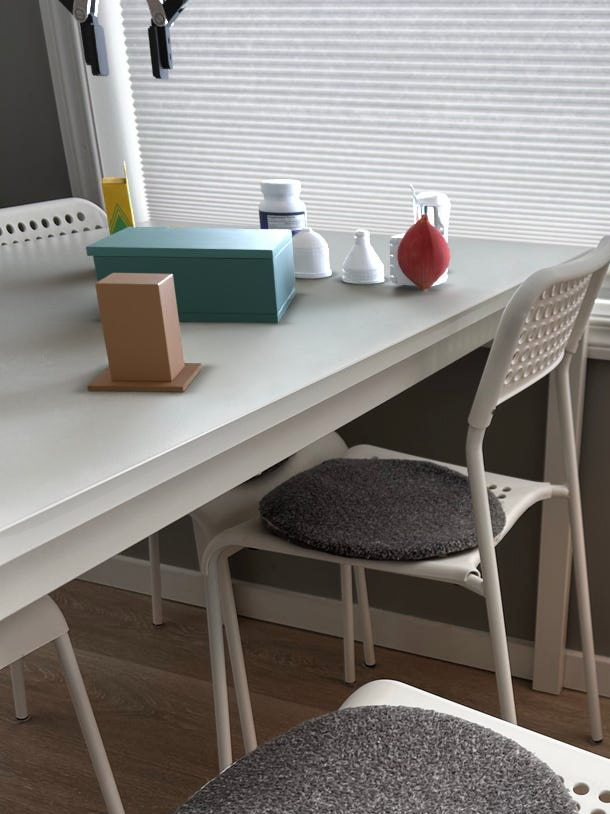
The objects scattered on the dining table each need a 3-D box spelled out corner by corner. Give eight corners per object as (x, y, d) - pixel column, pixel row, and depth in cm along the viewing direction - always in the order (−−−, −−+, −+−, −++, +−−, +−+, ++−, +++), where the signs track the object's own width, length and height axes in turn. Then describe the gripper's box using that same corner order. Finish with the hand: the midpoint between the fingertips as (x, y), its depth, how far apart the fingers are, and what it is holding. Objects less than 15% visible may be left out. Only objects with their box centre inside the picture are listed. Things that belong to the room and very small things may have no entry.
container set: (447, 284, 112) (448, 234, 109) (428, 291, 108) (428, 239, 105) (302, 269, 119) (299, 222, 116) (279, 275, 114) (275, 226, 112)
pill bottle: (267, 264, 121) (260, 178, 116) (312, 265, 121) (307, 179, 116) (260, 272, 116) (252, 182, 111) (307, 273, 116) (301, 183, 111)
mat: (87, 390, 70) (86, 385, 70) (114, 366, 76) (113, 361, 76) (183, 391, 71) (182, 386, 70) (202, 368, 77) (201, 362, 76)
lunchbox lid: (87, 255, 88) (85, 246, 87) (129, 234, 100) (128, 226, 100) (273, 258, 89) (272, 249, 88) (292, 237, 101) (291, 229, 101)
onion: (387, 290, 106) (386, 213, 102) (417, 284, 111) (417, 209, 107) (430, 297, 104) (430, 217, 100) (459, 289, 108) (460, 213, 104)
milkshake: (401, 271, 119) (399, 183, 114) (434, 267, 123) (434, 182, 117) (422, 276, 116) (422, 186, 111) (456, 272, 120) (457, 185, 114)
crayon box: (115, 263, 119) (99, 160, 113) (140, 262, 120) (125, 160, 114) (115, 273, 113) (97, 164, 107) (141, 272, 114) (125, 164, 108)
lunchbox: (103, 320, 91) (92, 256, 88) (142, 292, 103) (134, 234, 100) (278, 323, 92) (273, 259, 89) (296, 294, 104) (292, 238, 101)
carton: (111, 381, 71) (94, 283, 68) (127, 366, 75) (112, 272, 72) (171, 382, 71) (158, 284, 68) (185, 366, 75) (172, 273, 72)
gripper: (213, -162, 82) (232, 82, 91) (11, -175, 81) (50, 74, 90) (195, -185, 75) (217, 81, 84) (-25, -200, 74) (20, 71, 83)
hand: (130, 74), depth 87 cm, fingers open, 4 cm apart
